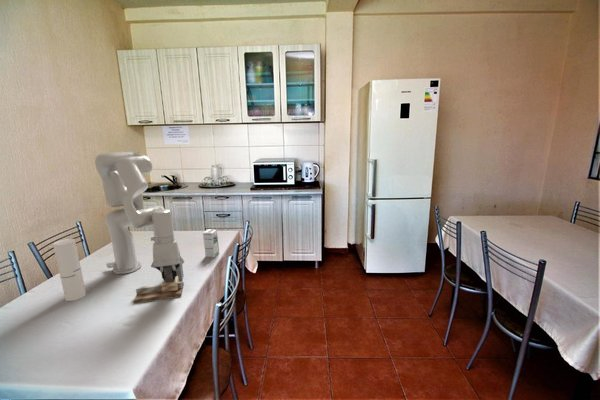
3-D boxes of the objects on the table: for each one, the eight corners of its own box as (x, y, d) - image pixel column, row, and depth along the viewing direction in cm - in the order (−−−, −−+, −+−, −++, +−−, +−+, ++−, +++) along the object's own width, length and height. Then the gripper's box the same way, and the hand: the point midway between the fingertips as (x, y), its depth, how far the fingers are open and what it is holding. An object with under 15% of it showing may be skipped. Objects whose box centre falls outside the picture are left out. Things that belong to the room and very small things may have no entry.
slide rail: (134, 303, 121) (133, 294, 120) (140, 290, 130) (139, 282, 129) (181, 296, 125) (180, 287, 125) (183, 284, 135) (182, 276, 134)
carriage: (162, 292, 125) (159, 270, 123) (164, 285, 131) (161, 264, 128) (177, 290, 127) (174, 268, 124) (179, 283, 132) (176, 262, 130)
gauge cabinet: (163, 284, 135) (161, 266, 133) (165, 278, 141) (163, 261, 139) (182, 282, 137) (180, 264, 135) (183, 276, 143) (181, 258, 141)
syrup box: (214, 257, 164) (212, 232, 160) (204, 256, 165) (202, 232, 162) (219, 253, 169) (217, 229, 166) (209, 252, 170) (207, 228, 167)
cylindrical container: (89, 293, 129) (79, 239, 123) (73, 302, 122) (60, 246, 116) (78, 290, 131) (67, 238, 125) (61, 299, 125) (48, 244, 119)
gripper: (141, 244, 118) (147, 285, 122) (184, 239, 122) (189, 280, 126) (145, 237, 125) (151, 277, 129) (186, 233, 129) (190, 272, 133)
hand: (169, 278), depth 128 cm, fingers closed on carriage, 3 cm apart
